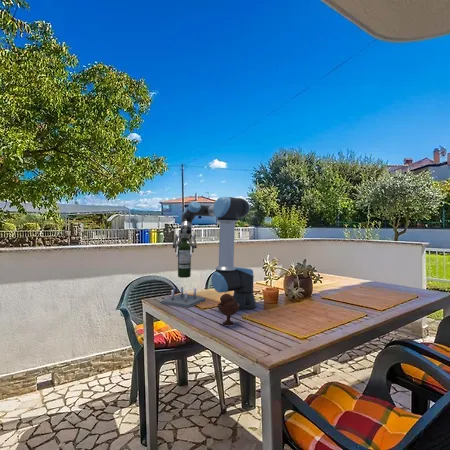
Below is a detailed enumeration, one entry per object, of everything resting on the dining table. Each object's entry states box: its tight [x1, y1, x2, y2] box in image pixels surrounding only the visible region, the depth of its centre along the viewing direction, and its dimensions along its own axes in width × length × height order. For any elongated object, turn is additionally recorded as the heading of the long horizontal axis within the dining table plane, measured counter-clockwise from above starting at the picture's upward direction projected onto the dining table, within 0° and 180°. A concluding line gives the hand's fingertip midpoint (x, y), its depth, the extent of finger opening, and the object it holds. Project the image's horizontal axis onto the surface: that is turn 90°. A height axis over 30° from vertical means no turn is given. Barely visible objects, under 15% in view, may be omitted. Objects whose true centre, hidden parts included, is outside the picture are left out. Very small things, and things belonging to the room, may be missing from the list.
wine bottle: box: [177, 229, 192, 279], centre depth 184 cm, size 8×8×30 cm
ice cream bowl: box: [217, 293, 240, 326], centre depth 142 cm, size 11×11×15 cm
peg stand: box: [160, 286, 207, 309], centre depth 183 cm, size 20×20×8 cm
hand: (183, 255), depth 180 cm, fingers closed on wine bottle, 8 cm apart
